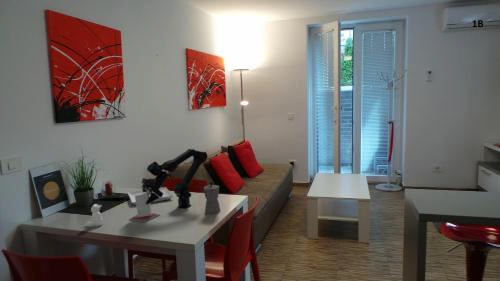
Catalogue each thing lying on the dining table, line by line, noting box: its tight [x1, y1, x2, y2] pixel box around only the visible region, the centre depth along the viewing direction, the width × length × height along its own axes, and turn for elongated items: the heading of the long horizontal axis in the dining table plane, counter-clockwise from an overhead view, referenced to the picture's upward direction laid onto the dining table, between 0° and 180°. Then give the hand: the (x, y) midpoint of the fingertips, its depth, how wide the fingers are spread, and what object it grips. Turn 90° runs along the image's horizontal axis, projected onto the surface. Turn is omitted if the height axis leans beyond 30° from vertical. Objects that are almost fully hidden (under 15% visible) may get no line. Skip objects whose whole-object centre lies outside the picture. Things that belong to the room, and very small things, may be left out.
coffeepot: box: [202, 181, 221, 215], centre depth 208 cm, size 15×9×18 cm, turn 13°
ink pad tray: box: [128, 212, 160, 223], centre depth 203 cm, size 12×12×1 cm
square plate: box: [127, 186, 174, 206], centre depth 243 cm, size 27×27×4 cm
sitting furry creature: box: [84, 203, 105, 228], centre depth 194 cm, size 10×9×12 cm
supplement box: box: [135, 191, 153, 217], centre depth 202 cm, size 7×7×13 cm
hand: (143, 202), depth 202 cm, fingers open, 9 cm apart
